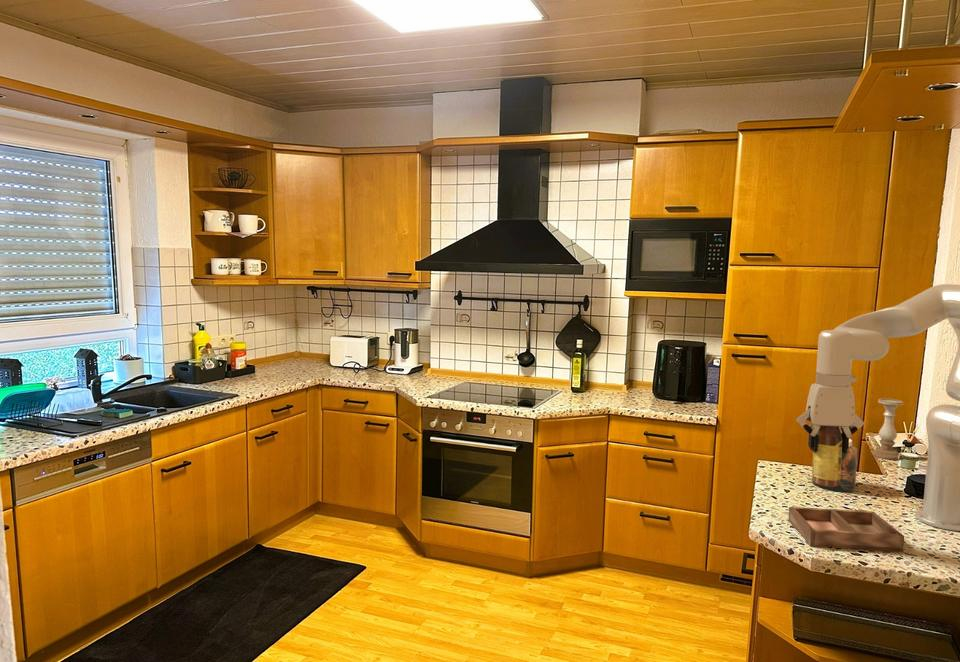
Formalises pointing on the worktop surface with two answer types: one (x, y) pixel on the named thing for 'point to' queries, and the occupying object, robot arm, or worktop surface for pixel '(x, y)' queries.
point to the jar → (845, 471)
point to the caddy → (845, 529)
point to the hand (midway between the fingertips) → (827, 450)
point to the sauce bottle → (828, 457)
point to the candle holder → (888, 430)
